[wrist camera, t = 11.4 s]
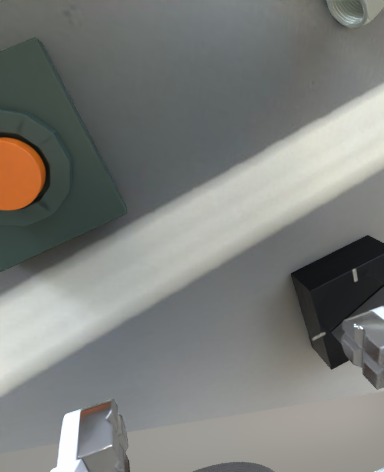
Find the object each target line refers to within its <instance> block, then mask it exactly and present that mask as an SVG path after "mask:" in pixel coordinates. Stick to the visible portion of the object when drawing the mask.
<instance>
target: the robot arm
mask: <svg viewBox="0 0 384 472" xmlns="http://www.w3.org/2000/svg"><path fill="white" fill-rule="evenodd" d="M342 329H343V330H344V331H345V334H344V335H343V337H342V347H343V350H344V353H345V354H346V356H347V357H348V359H349V360H350V361H351V362H352V363H353V364H354V365H356V366H359V367H361V368H362V372H363V375H364V376H365V377H366V378H367V379H368V380H369V382H370V383H371V384H372V385H373V386H374V387H375V388H376V389H377V390H378V389H381V388H383V387H384V307H383V306H381V307H378V308H375V309H372V310H369V311H366V312H363V313H361V314H358V315H355V316H352V317H349V318H346V319H344V320H343V322H342ZM127 448H128V439H127V432H126V427H125V424H124V420H123V418H122V415H119V414H118V406H117V404H116V402H115V400H114V399H111V400H108V401H105V402H101V403H98V404H95V405H92V406H89V407H86V408H82V409H80V410H77V411H74V412H71V413H67V414H65V416H64V419H63V423H62V431H61V439H60V446H59V454H58V462H57V468H54V469H52V470H51V471H50V472H130V467H129V460H128V457H127V455H126V453H125V452H126V450H127ZM375 472H384V468H382V469H380V470H377V471H375Z"/></svg>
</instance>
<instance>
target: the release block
mask: <svg viewBox="0 0 384 472" xmlns="http://www.w3.org/2000/svg"><path fill="white" fill-rule="evenodd" d="M0 137H9V138H14V139H18V140H20V141H23V142H25V143H26V144H28V145H29V146H31V147H32V148H33V149H34V150H35V151H36V152H37V153H38V154H39V155H40V157H41V159H42V161H43V163H44V165H45V169H46V180H45V184H44V186H43V188H42V190H41V191H40V193H39V194H38V196H37V197H36V198H35V199H34V200H33V201H32V202H31V203H30V204H29V205H27V206H25V207H23V208H21V209H17V210H10V211H5V210H0V272H2V271H4V270H6V269H8V268H10V267H12V266H15V265H17V264H19V263H21V262H23V261H25V260H28V259H30V258H32V257H34V256H36V255H38V254H40V253H43V252H45V251H47V250H49V249H51V248H53V247H56V246H58V245H60V244H62V243H64V242H66V241H69V240H71V239H73V238H75V237H77V236H79V235H81V234H84V233H86V232H88V231H90V230H92V229H94V228H97V227H99V226H101V225H103V224H105V223H107V222H110V221H112V220H114V219H116V218H118V217H120V216H122V215H125V214H127V210H126V205H125V203H124V201H123V199H122V197H121V195H120V193H119V191H118V189H117V187H116V186H115V184H114V182H113V180H112V178H111V176H110V174H109V172H108V170H107V168H106V166H105V164H104V162H103V160H102V158H101V156H100V154H99V153H98V151H97V149H96V147H95V145H94V143H93V141H92V139H91V137H90V135H89V133H88V131H87V129H86V127H85V125H84V123H83V122H82V120H81V118H80V116H79V114H78V112H77V110H76V108H75V106H74V104H73V102H72V100H71V98H70V96H69V94H68V92H67V90H66V89H65V87H64V85H63V83H62V81H61V79H60V77H59V75H58V73H57V71H56V69H55V67H54V65H53V63H52V61H51V59H50V58H49V56H48V54H47V52H46V50H45V48H44V46H43V44H42V43H41V42H40V41H39V40H38V39H37V38H33V39H30V40H28V41H25V42H23V43H20V44H18V45H16V46H13V47H11V48H8V49H6V50H3V51H1V52H0Z"/></svg>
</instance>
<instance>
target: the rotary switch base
mask: <svg viewBox="0 0 384 472" xmlns="http://www.w3.org/2000/svg"><path fill="white" fill-rule="evenodd" d="M291 276H292V279H293V283H294V286H295V290H296V293H297V296H298V300H299V303H300V307H301V310H302V313H303V317H304V320H305V324H306V327H307V330H308V334H309V337H310V341H311V344H312V347H313V349H314V350H315V351H316V352H317V353H318V355H319V356H320V357H321V358H322V359H323V360H324V362H325V363H326V364H327V365H328V366H329V367H330V369H331V370H332V369H334V368H336V367H337V366H339V365H341V364H343V363H345V362H347V361H349V359H348V357H347V356H346V354H345V353H344V350H343V347H342V344H341V343H340V342H339V341H338V340H337V339H336V338H335V336H334V335H333V334H332V333H331V332H332V331H333V330H334V329H335V328H337V327H338V326H339V325H340V324H341V323H342V322H343V320H344V319H346V318H348V317H349V316H350V315H351V314H353V313H354V312H355V311H356V310H357V309H358V308H359V307H361V306H362V305H363V304H364V303H365V302H366V301H367V300H369V299H370V298H371V297H372V296H373V295H374V294H375V293H377V292H378V291H379V290H380V289H381V288H382V287H383V286H384V243H382V242H380V241H378V240H376V239H374V238H372V237H370V236H368V235H367V236H365V237H363V238H361V239H359V240H357V241H355V242H353V243H351V244H349V245H347V246H345V247H343V248H341V249H339V250H337V251H335V252H333V253H331V254H329V255H327V256H325V257H323V258H321V259H319V260H317V261H315V262H313V263H311V264H309V265H307V266H305V267H303V268H301V269H299V270H297V271H295V272H293V273H291Z"/></svg>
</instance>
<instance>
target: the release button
mask: <svg viewBox="0 0 384 472" xmlns="http://www.w3.org/2000/svg"><path fill="white" fill-rule="evenodd" d="M45 180H46V169H45V165H44V163H43V161H42V159H41V157H40V155H39V154H38V153H37V152H36V151H35V150H34V149H33V148H32V147H31V146H29V145H28V144H26V143H25V142H23V141H20V140H18V139H14V138H9V137H0V210H5V211H10V210H17V209H21V208H23V207H25V206H27V205H29V204H30V203H31V202H32V201H33V200H34V199H35V198H36V197H37V196H38V194H39V193H40V191H41V190H42V188H43V186H44V184H45Z"/></svg>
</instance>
